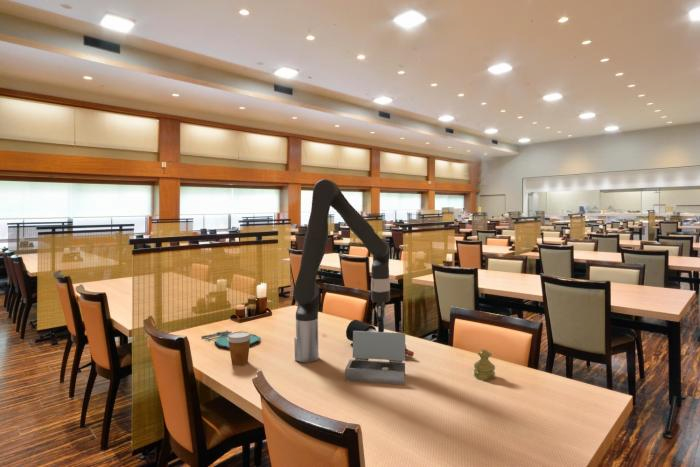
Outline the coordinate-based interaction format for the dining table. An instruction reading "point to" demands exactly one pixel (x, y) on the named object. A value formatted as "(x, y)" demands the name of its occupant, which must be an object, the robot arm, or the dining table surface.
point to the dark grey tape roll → (384, 368)
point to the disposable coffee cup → (239, 347)
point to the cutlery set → (223, 340)
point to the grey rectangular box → (375, 372)
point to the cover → (379, 346)
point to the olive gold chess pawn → (484, 367)
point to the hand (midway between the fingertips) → (381, 331)
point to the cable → (362, 326)
